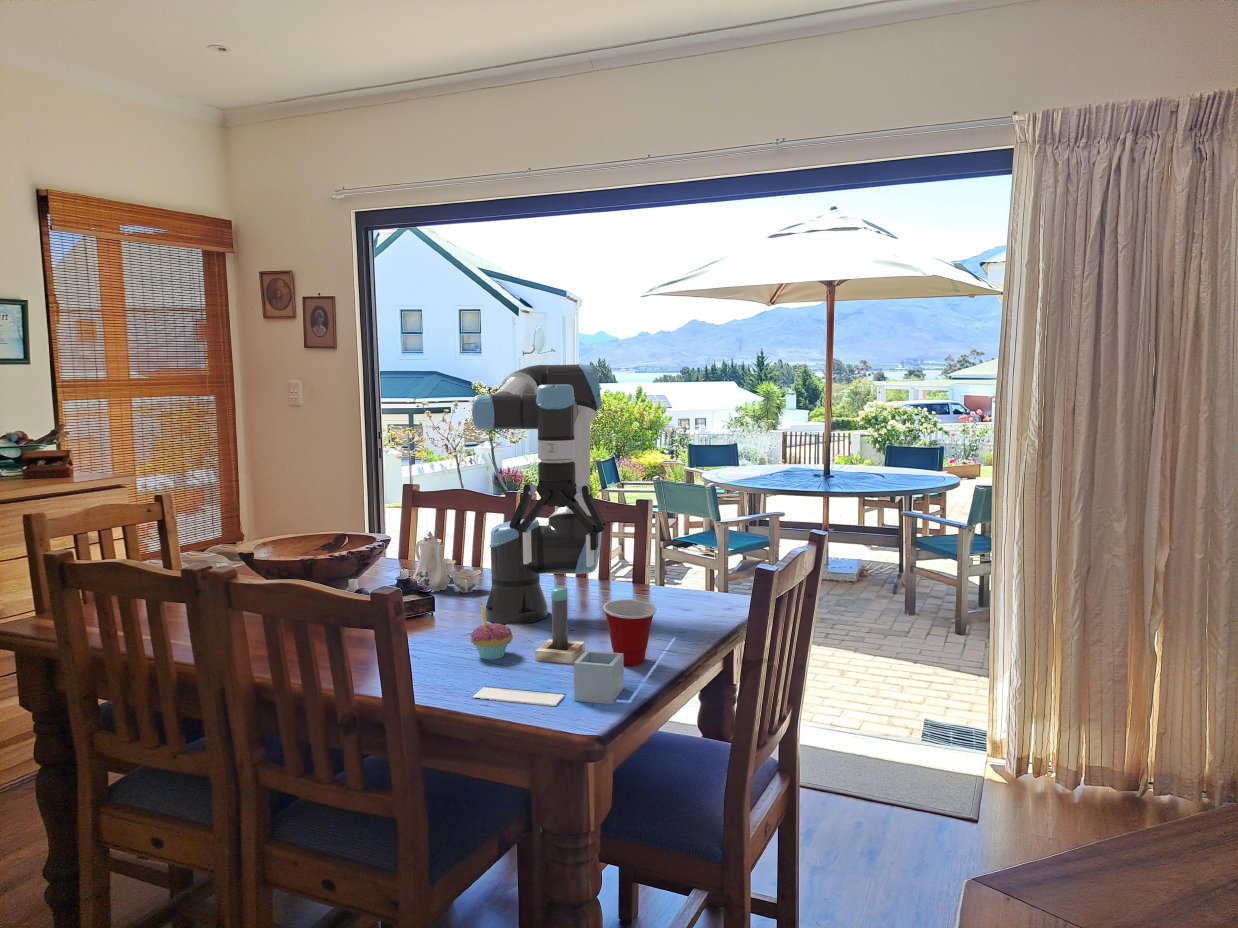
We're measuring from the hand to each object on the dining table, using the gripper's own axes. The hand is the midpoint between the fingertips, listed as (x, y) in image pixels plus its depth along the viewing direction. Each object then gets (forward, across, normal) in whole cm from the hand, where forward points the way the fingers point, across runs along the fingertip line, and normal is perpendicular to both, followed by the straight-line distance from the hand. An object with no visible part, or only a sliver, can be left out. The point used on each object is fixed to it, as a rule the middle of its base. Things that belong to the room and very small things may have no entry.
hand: (558, 564), depth 176 cm
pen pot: (+20, +14, -18) cm, 30 cm away
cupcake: (+20, -14, -2) cm, 25 cm away
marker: (+19, 0, 0) cm, 19 cm away
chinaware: (+20, -53, +50) cm, 75 cm away
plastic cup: (+20, +15, 0) cm, 25 cm away
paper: (+20, 0, -18) cm, 27 cm away
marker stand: (+20, 0, 0) cm, 20 cm away
